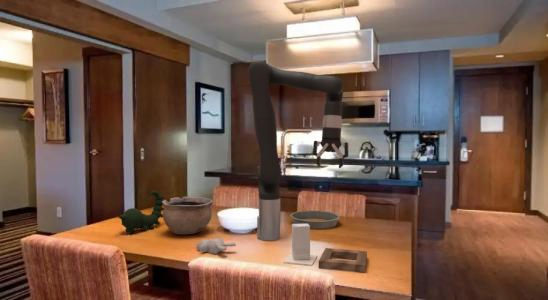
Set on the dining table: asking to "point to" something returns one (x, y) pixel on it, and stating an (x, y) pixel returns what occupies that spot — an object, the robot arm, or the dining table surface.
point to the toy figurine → (143, 216)
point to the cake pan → (304, 217)
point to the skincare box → (300, 241)
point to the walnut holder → (343, 265)
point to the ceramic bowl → (187, 214)
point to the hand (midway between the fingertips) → (329, 167)
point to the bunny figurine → (213, 245)
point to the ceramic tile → (301, 262)
